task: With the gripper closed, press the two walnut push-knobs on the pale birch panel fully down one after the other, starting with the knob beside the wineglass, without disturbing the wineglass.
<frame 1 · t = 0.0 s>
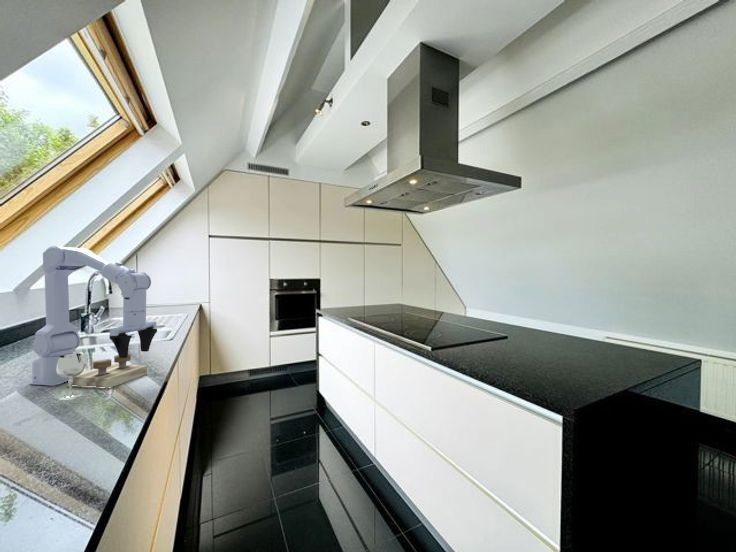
hand: (134, 354, 95), 10 cm above the counter, tool pointing down, fingers open, 7 cm apart
knob 1: (102, 368, 97), point 5 cm above the counter, slide at 0.0 cm
knob panel: (110, 379, 101), on the counter
wineglass: (70, 398, 87), on the counter
knob 2: (122, 362, 104), point 5 cm above the counter, slide at 0.0 cm
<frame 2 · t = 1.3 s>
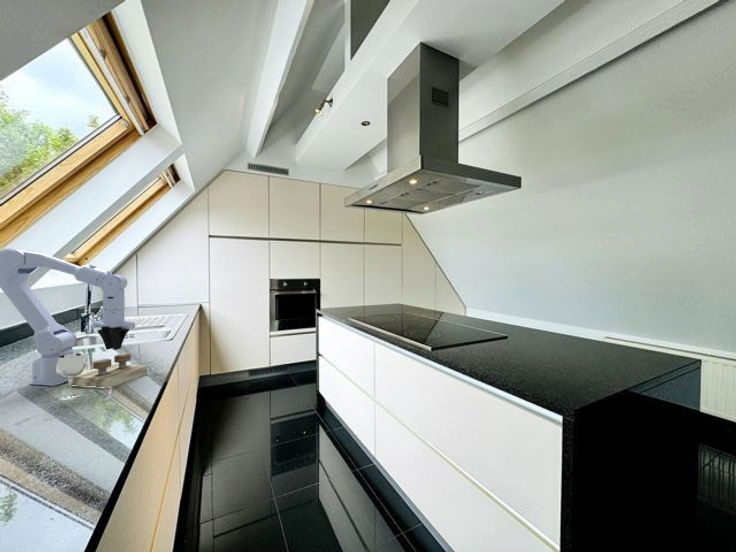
hand: (113, 349, 104), 9 cm above the counter, tool pointing down, fingers closed
nothing on the counter moved.
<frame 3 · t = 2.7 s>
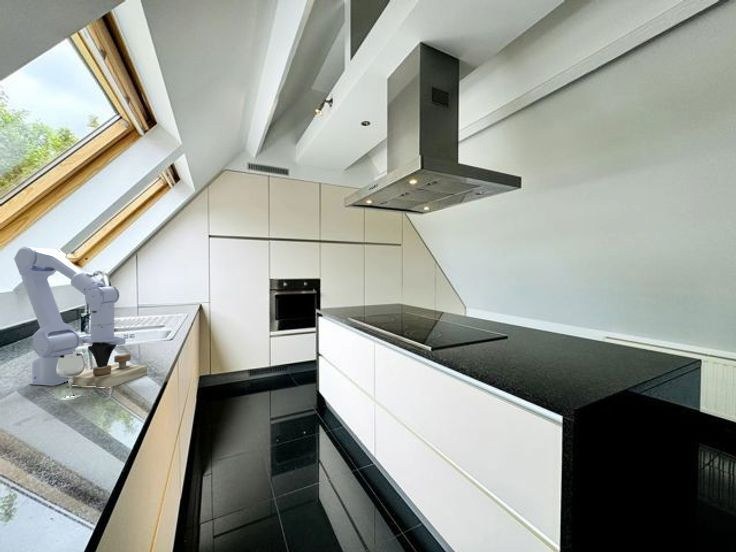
hand: (102, 366, 97), 6 cm above the counter, tool pointing down, fingers closed, pressing on knob 1
knob 1: (102, 374, 97), point 3 cm above the counter, slide at 1.9 cm, touching gripper
everything else where it was.
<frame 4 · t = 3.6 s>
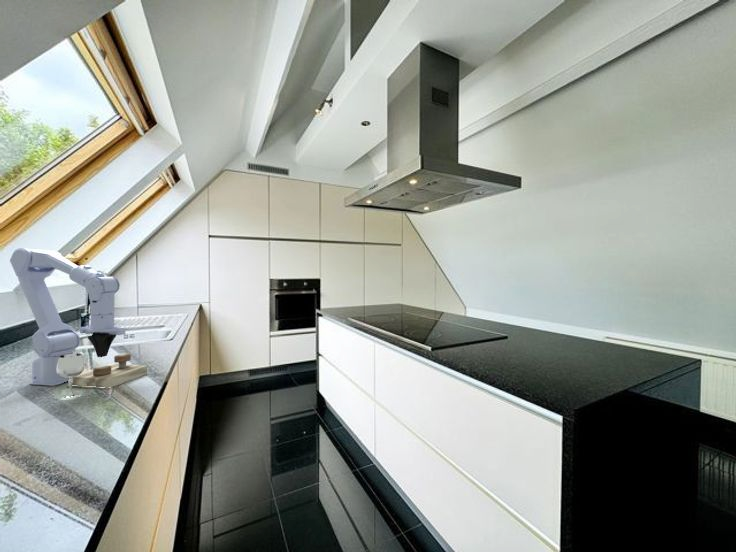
hand: (102, 356, 97), 9 cm above the counter, tool pointing down, fingers closed
knob 1: (102, 374, 97), point 3 cm above the counter, slide at 2.1 cm
everything else where it was.
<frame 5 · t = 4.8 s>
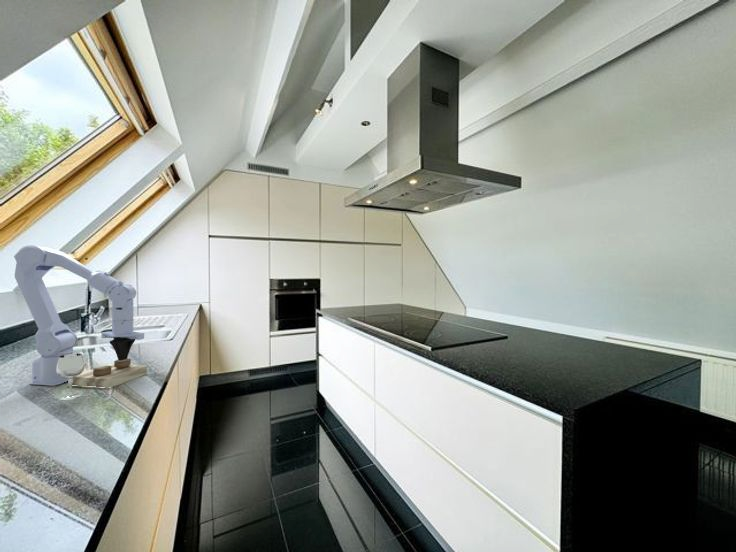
hand: (122, 359, 104), 6 cm above the counter, tool pointing down, fingers closed, pressing on knob 2
knob 2: (122, 366, 104), point 3 cm above the counter, slide at 1.7 cm, touching gripper
everything else where it was.
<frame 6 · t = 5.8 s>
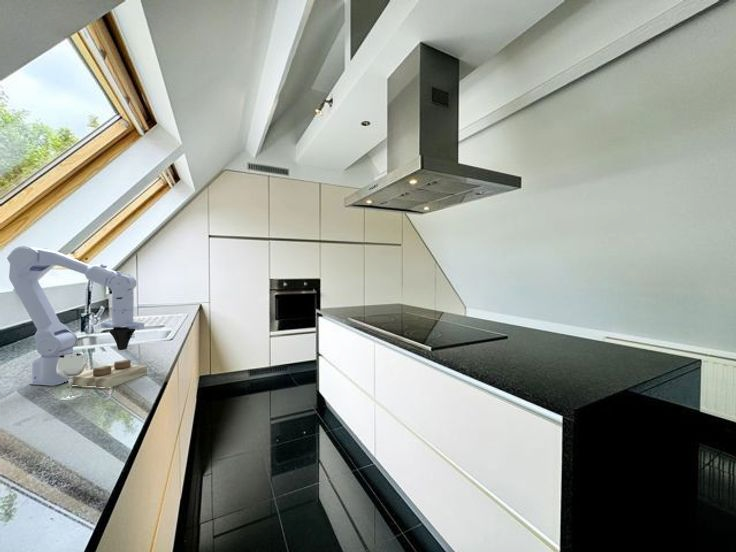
hand: (122, 349, 104), 9 cm above the counter, tool pointing down, fingers closed
knob 2: (122, 368, 104), point 3 cm above the counter, slide at 2.1 cm
everything else where it was.
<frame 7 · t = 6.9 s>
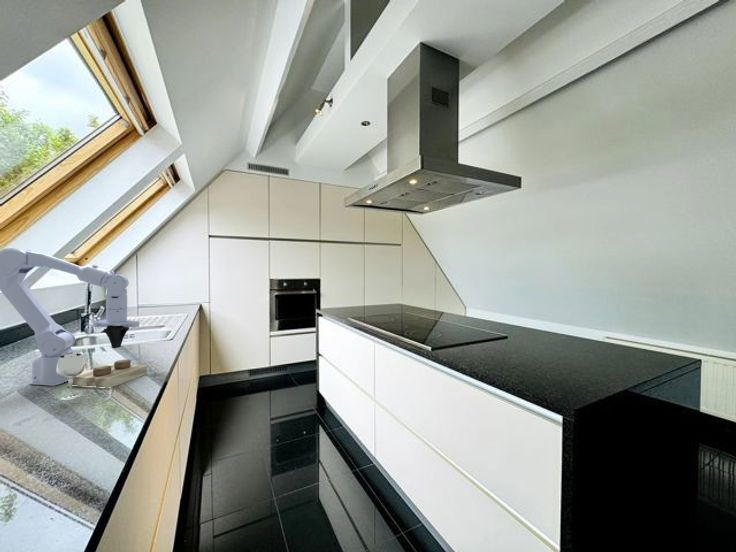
hand: (116, 347, 106), 9 cm above the counter, tool pointing down, fingers closed
nothing on the counter moved.
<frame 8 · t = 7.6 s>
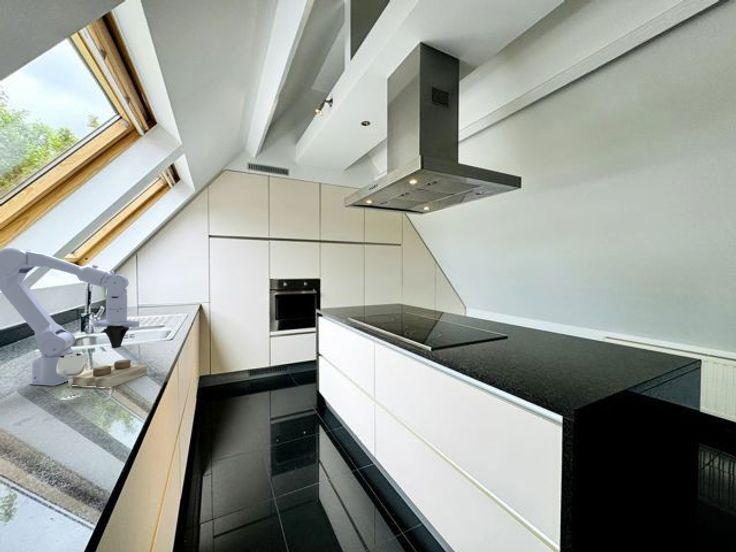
hand: (116, 347, 106), 9 cm above the counter, tool pointing down, fingers closed
nothing on the counter moved.
at the end: knob 1 slide at 2.1 cm; knob 2 slide at 2.1 cm; wineglass moved 0.2 cm from its start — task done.
